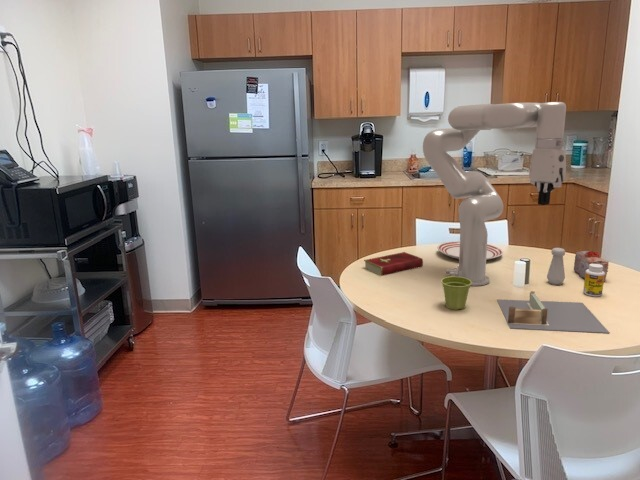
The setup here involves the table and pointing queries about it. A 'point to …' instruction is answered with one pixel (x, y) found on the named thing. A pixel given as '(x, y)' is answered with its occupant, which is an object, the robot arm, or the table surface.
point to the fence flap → (536, 303)
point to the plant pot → (456, 291)
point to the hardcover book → (393, 263)
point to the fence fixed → (526, 316)
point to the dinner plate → (454, 250)
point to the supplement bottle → (594, 280)
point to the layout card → (557, 317)
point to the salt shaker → (556, 267)
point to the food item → (588, 262)
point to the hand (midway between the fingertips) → (543, 204)
